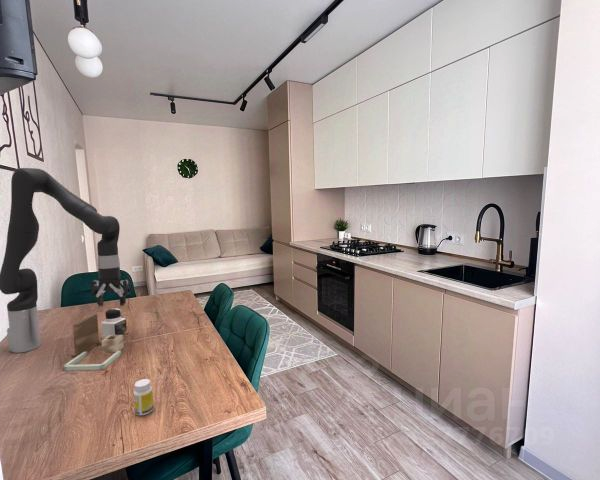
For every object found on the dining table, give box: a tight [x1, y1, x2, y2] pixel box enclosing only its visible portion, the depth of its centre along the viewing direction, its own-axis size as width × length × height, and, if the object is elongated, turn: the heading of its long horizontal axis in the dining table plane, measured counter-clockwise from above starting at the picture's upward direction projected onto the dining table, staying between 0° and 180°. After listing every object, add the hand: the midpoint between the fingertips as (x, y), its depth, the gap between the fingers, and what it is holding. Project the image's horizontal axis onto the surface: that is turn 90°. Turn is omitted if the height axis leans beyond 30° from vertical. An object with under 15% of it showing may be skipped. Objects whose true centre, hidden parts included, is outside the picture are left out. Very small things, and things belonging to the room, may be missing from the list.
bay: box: [61, 350, 122, 372], centre depth 122 cm, size 14×12×2 cm
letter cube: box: [101, 335, 124, 355], centre depth 132 cm, size 6×6×6 cm
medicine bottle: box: [100, 308, 128, 339], centre depth 148 cm, size 7×7×12 cm
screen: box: [70, 313, 102, 359], centre depth 132 cm, size 5×13×13 cm, turn 1°
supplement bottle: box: [133, 378, 154, 416], centre depth 92 cm, size 5×5×8 cm
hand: (111, 305), depth 132 cm, fingers open, 8 cm apart
